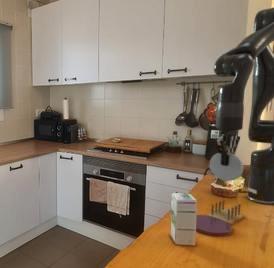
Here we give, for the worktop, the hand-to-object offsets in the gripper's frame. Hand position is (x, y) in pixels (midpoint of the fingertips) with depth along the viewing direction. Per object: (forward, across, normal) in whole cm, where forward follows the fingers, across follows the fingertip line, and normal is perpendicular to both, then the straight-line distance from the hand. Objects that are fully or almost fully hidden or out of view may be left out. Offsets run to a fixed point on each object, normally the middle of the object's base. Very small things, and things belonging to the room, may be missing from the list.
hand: (225, 164), depth 95 cm
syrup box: (+20, -25, 0) cm, 32 cm away
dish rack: (+20, +2, 0) cm, 20 cm away
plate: (+1, 0, 0) cm, 1 cm away
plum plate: (+20, -9, 0) cm, 22 cm away
